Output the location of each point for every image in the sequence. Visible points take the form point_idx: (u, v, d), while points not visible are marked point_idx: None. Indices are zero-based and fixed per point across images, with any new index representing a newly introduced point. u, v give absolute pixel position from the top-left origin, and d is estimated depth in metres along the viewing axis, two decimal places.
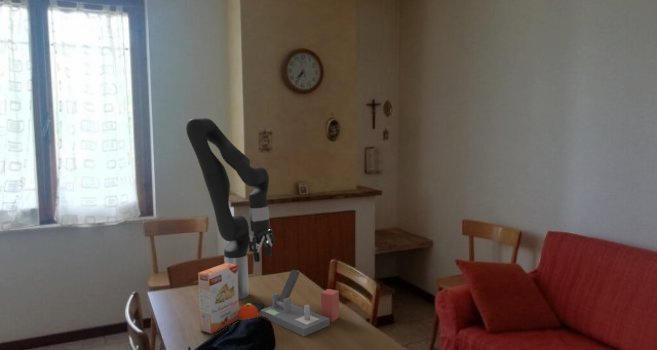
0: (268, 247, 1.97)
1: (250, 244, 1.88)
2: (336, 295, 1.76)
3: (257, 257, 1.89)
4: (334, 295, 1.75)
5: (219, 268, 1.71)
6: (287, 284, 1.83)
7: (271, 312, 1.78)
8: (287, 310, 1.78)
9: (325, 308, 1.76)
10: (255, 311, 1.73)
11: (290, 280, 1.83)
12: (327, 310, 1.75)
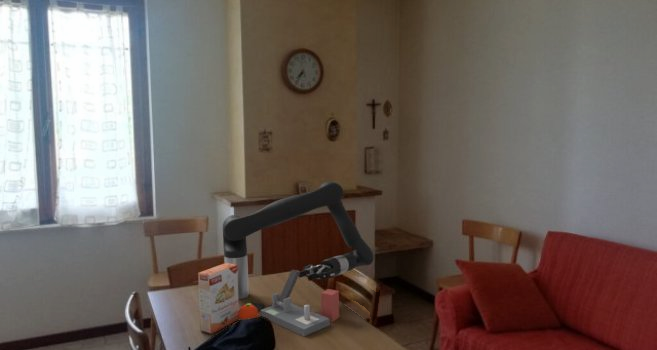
0: (306, 273, 1.92)
1: (328, 274, 1.88)
2: (336, 295, 1.76)
3: (313, 279, 1.87)
4: (334, 295, 1.75)
5: (219, 268, 1.71)
6: (287, 284, 1.83)
7: (271, 312, 1.78)
8: (287, 310, 1.78)
9: (325, 308, 1.76)
10: (255, 311, 1.73)
11: (290, 280, 1.83)
12: (327, 310, 1.75)
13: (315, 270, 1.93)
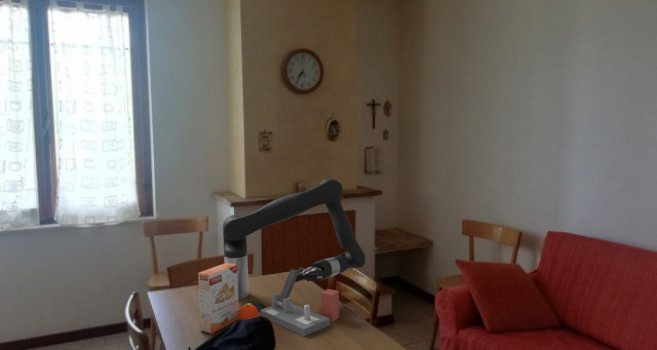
0: None
1: (314, 276, 1.86)
2: (336, 295, 1.76)
3: (299, 280, 1.85)
4: (334, 295, 1.75)
5: (219, 268, 1.71)
6: (286, 284, 1.83)
7: (271, 312, 1.78)
8: (287, 310, 1.78)
9: (325, 308, 1.76)
10: (255, 311, 1.73)
11: (289, 279, 1.83)
12: (327, 310, 1.75)
13: None
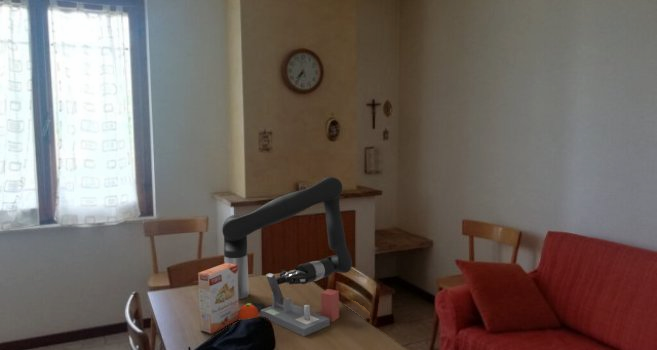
0: None
1: (297, 279, 1.80)
2: (336, 295, 1.76)
3: (281, 283, 1.79)
4: (334, 295, 1.75)
5: (219, 268, 1.71)
6: (272, 289, 1.78)
7: (271, 312, 1.78)
8: (287, 310, 1.78)
9: (325, 308, 1.76)
10: (255, 311, 1.73)
11: (271, 285, 1.77)
12: (327, 310, 1.75)
13: None
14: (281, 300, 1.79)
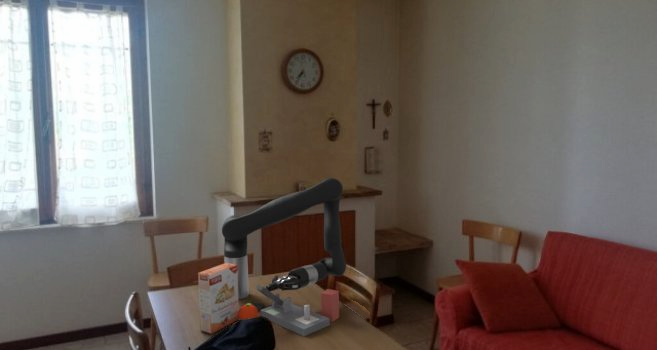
0: None
1: (289, 285, 1.77)
2: (336, 295, 1.76)
3: (273, 289, 1.76)
4: (334, 295, 1.75)
5: (219, 268, 1.71)
6: (267, 296, 1.77)
7: (271, 312, 1.78)
8: (287, 310, 1.78)
9: (325, 308, 1.76)
10: (255, 311, 1.73)
11: (265, 294, 1.75)
12: (327, 310, 1.75)
13: None
14: (279, 302, 1.78)
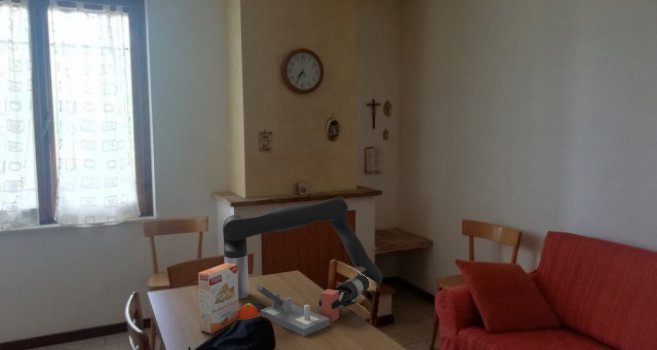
0: None
1: (350, 300, 1.78)
2: (336, 295, 1.76)
3: (336, 307, 1.75)
4: (334, 295, 1.75)
5: (219, 268, 1.71)
6: (267, 296, 1.77)
7: (271, 312, 1.78)
8: (287, 310, 1.78)
9: (325, 308, 1.76)
10: (255, 311, 1.73)
11: (265, 294, 1.75)
12: (327, 310, 1.75)
13: None
14: (279, 302, 1.78)
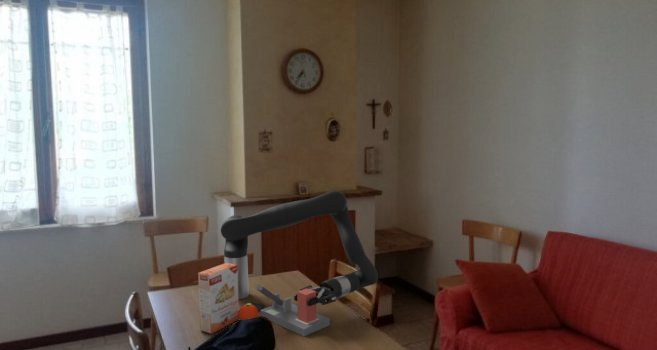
0: None
1: (329, 298, 1.69)
2: (312, 295, 1.69)
3: None
4: (309, 295, 1.68)
5: (219, 268, 1.71)
6: (267, 296, 1.77)
7: (271, 312, 1.78)
8: (287, 310, 1.78)
9: (301, 308, 1.69)
10: (255, 311, 1.73)
11: (265, 294, 1.75)
12: (302, 310, 1.69)
13: None
14: (279, 302, 1.78)
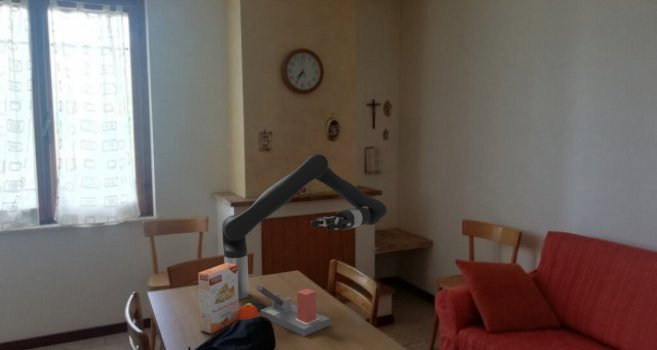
0: (318, 223, 1.89)
1: (346, 224, 1.84)
2: (312, 295, 1.69)
3: (331, 229, 1.82)
4: (309, 295, 1.68)
5: (219, 268, 1.71)
6: (267, 296, 1.77)
7: (271, 312, 1.78)
8: (287, 310, 1.78)
9: (301, 308, 1.69)
10: (255, 311, 1.73)
11: (265, 294, 1.75)
12: (302, 310, 1.69)
13: (327, 221, 1.89)
14: (279, 302, 1.78)
